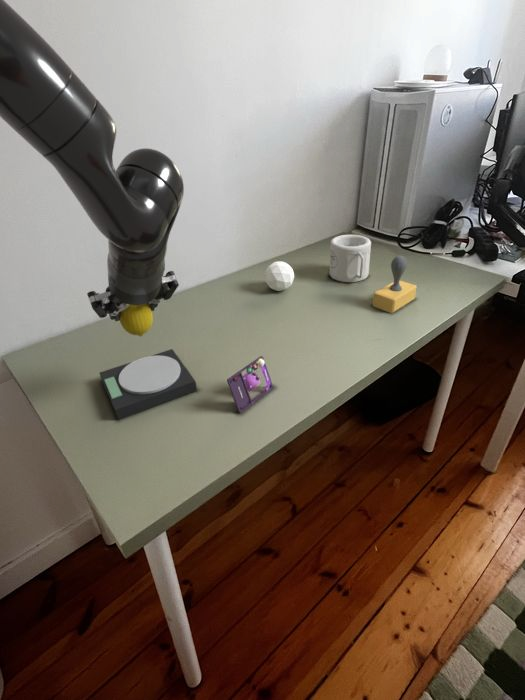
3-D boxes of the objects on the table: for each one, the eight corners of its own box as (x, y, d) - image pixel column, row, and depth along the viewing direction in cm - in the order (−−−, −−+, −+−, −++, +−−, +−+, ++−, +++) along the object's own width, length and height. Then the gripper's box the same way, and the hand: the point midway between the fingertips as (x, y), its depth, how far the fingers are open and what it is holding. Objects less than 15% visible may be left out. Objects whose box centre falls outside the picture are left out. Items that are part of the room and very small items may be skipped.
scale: (118, 420, 76) (114, 407, 75) (102, 382, 86) (98, 369, 84) (197, 390, 82) (194, 378, 80) (174, 358, 92) (171, 346, 90)
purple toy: (230, 380, 73) (265, 356, 79) (212, 377, 77) (246, 354, 82) (243, 413, 75) (276, 388, 81) (224, 409, 79) (257, 385, 85)
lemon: (162, 330, 78) (153, 289, 74) (145, 346, 74) (135, 304, 69) (136, 326, 80) (126, 286, 75) (118, 341, 75) (106, 300, 71)
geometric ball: (274, 300, 117) (256, 282, 112) (279, 279, 121) (261, 260, 117) (297, 291, 112) (279, 272, 108) (301, 270, 117) (284, 250, 112)
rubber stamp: (395, 292, 111) (401, 247, 105) (415, 299, 108) (422, 253, 101) (372, 306, 106) (376, 259, 99) (392, 313, 102) (398, 266, 96)
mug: (323, 270, 125) (324, 236, 119) (358, 265, 127) (361, 231, 121) (341, 290, 114) (343, 253, 108) (379, 283, 116) (383, 248, 110)
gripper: (175, 234, 64) (164, 281, 79) (74, 257, 58) (83, 303, 74) (193, 280, 63) (179, 318, 78) (92, 307, 57) (98, 343, 73)
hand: (132, 310), depth 76 cm, fingers closed on lemon, 5 cm apart
